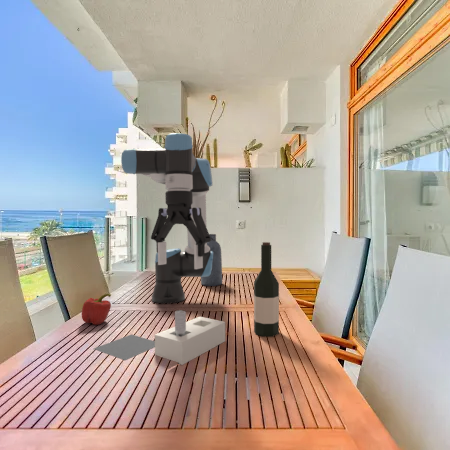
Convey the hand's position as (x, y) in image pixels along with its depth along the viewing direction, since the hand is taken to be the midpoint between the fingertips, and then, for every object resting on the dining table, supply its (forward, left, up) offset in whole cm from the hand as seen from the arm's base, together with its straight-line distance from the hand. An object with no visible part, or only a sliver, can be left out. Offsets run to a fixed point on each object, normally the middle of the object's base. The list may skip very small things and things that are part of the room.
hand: (179, 266), depth 94 cm
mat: (-15, -5, -25) cm, 30 cm away
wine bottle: (+13, +28, -25) cm, 40 cm away
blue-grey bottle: (-49, +81, -25) cm, 99 cm away
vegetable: (-43, +4, -25) cm, 50 cm away
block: (+1, +5, -25) cm, 25 cm away
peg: (+1, -1, -25) cm, 25 cm away
